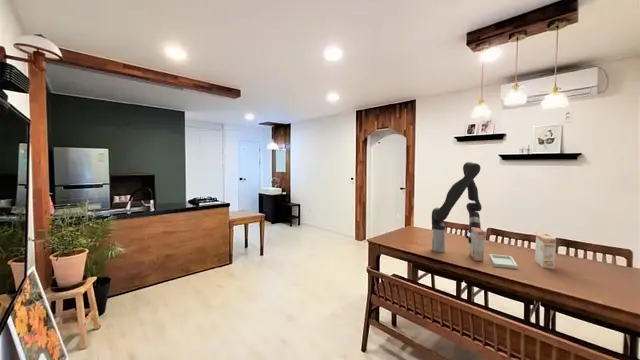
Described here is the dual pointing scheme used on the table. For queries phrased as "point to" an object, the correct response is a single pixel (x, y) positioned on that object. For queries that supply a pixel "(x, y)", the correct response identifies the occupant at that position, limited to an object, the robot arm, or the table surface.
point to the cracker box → (477, 244)
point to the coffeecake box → (545, 250)
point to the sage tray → (503, 261)
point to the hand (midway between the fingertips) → (475, 243)
